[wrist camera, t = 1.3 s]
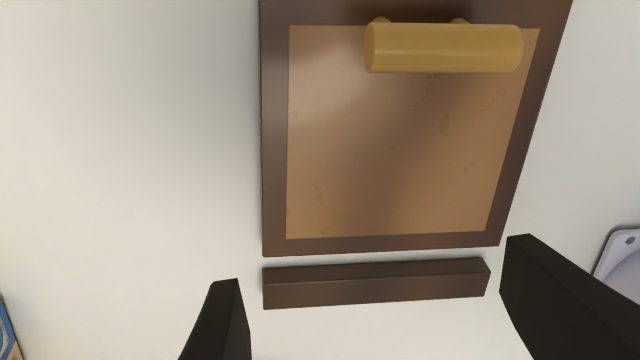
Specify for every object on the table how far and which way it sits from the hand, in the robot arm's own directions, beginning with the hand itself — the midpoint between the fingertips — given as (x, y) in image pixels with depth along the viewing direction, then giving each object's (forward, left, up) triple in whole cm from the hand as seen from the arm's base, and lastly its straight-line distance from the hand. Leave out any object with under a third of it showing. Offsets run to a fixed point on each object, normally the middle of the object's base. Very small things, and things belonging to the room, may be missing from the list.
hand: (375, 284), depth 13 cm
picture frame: (-3, +1, -10) cm, 11 cm away
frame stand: (-3, +9, -10) cm, 14 cm away
